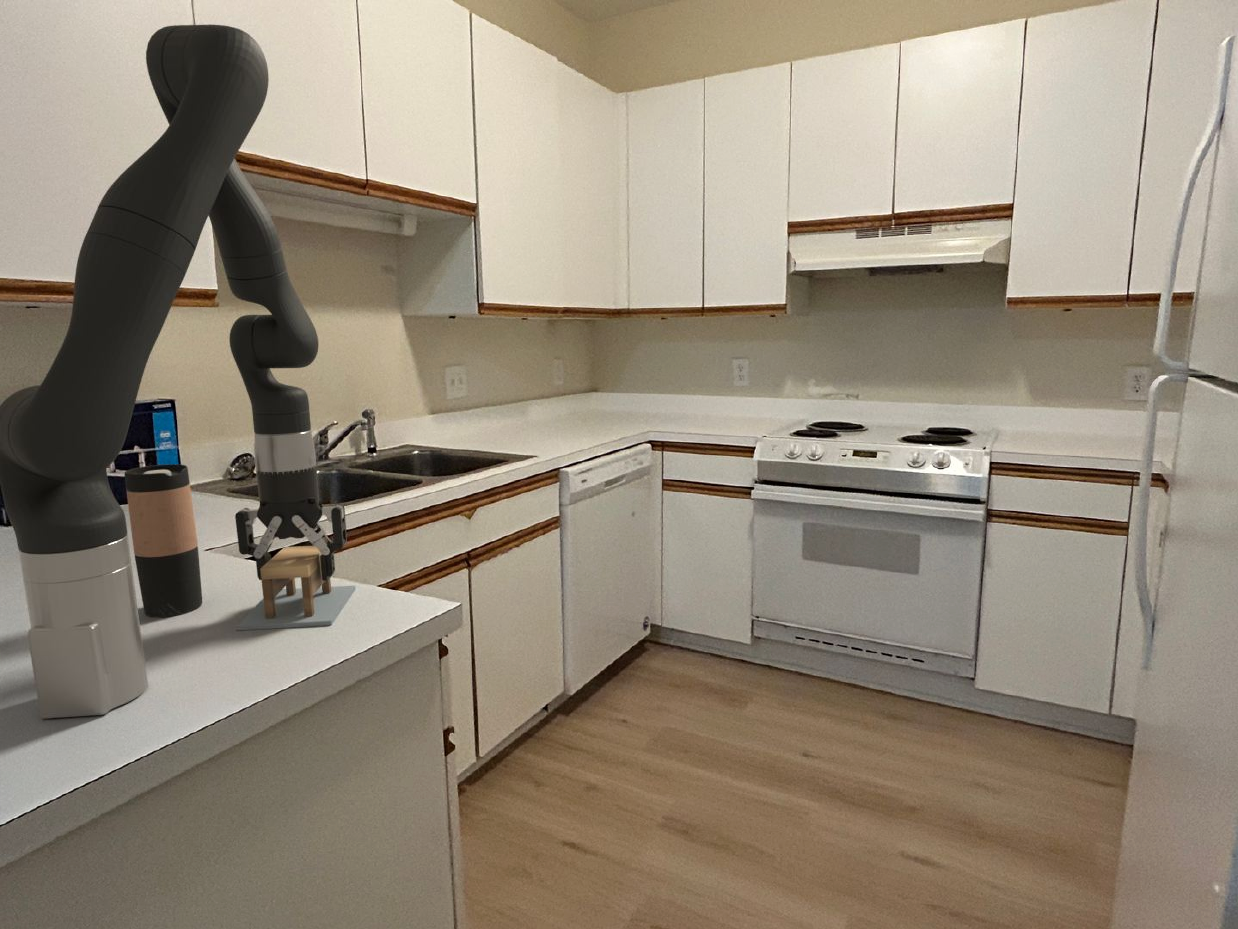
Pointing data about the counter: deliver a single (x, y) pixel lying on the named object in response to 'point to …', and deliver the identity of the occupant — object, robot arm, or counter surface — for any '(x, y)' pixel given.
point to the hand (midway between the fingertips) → (297, 580)
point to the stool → (293, 577)
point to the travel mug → (164, 539)
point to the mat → (298, 610)
